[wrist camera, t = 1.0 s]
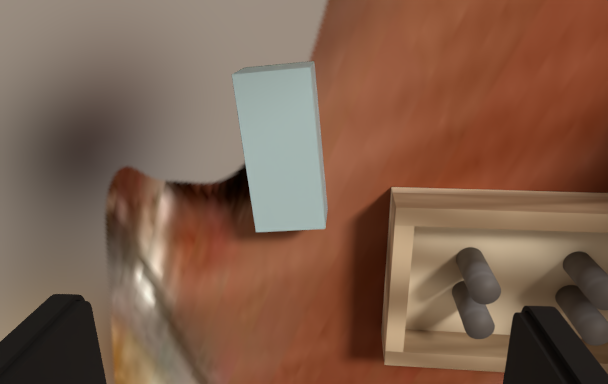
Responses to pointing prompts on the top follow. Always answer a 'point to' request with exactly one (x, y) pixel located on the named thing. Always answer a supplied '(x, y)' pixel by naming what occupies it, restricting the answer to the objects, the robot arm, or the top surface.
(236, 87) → the block
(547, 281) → the wooden drawer
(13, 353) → the robot arm
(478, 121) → the top surface
